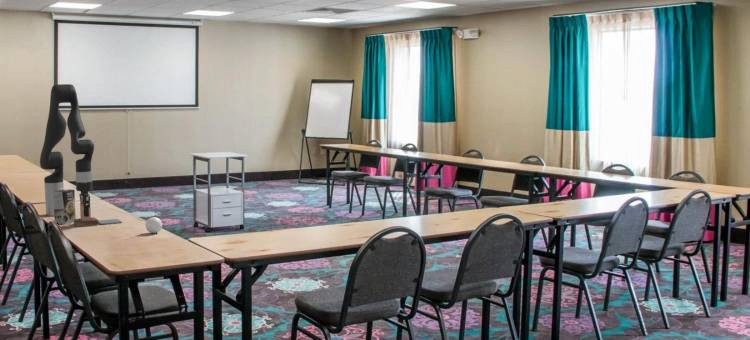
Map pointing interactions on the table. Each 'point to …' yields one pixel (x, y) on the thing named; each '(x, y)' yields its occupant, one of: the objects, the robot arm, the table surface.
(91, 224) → the pocket block
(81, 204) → the peg
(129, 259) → the table surface
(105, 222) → the pad
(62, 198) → the coffee box
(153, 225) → the white sphere
